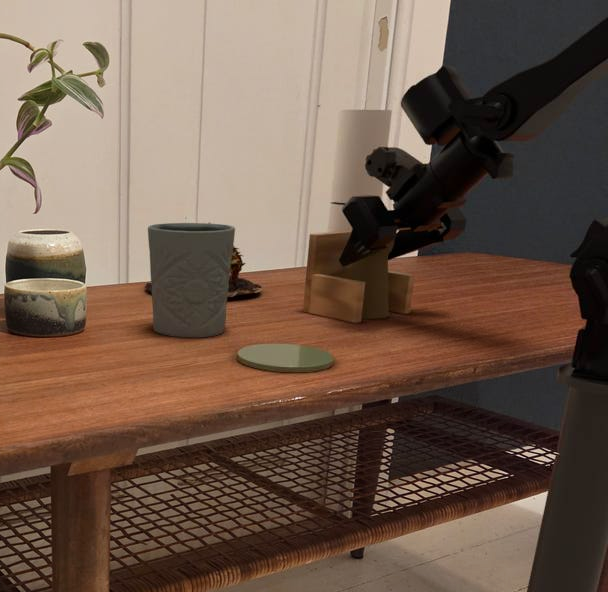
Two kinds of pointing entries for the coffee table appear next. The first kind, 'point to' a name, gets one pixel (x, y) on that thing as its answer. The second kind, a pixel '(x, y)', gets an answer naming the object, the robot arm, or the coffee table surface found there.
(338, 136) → the cylindrical container
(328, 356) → the coaster
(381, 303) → the olive tapered shaker
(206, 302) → the grey embossed cup
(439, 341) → the coffee table surface
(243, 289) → the cactus
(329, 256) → the rack
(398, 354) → the coffee table surface
